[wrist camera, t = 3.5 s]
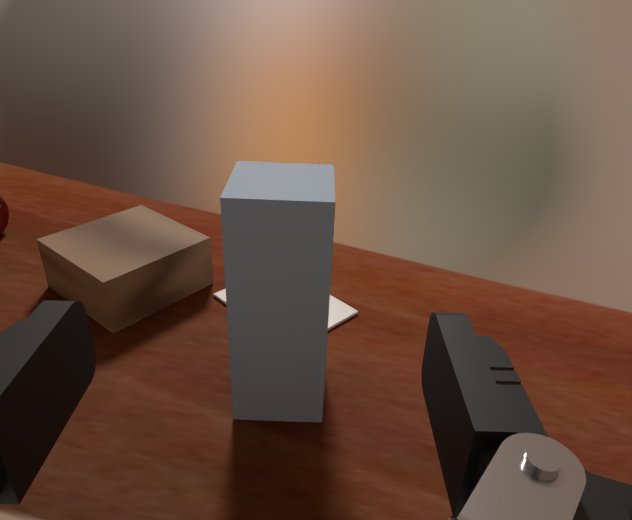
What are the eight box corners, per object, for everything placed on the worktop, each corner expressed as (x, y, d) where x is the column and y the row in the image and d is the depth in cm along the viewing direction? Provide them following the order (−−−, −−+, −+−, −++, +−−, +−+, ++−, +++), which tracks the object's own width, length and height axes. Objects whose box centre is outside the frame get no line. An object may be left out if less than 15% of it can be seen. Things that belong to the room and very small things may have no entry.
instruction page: (290, 351, 31) (290, 347, 30) (213, 296, 36) (213, 292, 35) (357, 313, 34) (358, 309, 34) (279, 267, 39) (279, 264, 39)
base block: (113, 337, 32) (103, 282, 30) (49, 290, 36) (36, 239, 34) (213, 286, 37) (210, 237, 35) (147, 250, 41) (141, 205, 40)
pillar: (322, 422, 26) (335, 202, 20) (232, 419, 26) (220, 197, 20) (322, 363, 30) (333, 164, 24) (245, 360, 30) (237, 160, 24)
